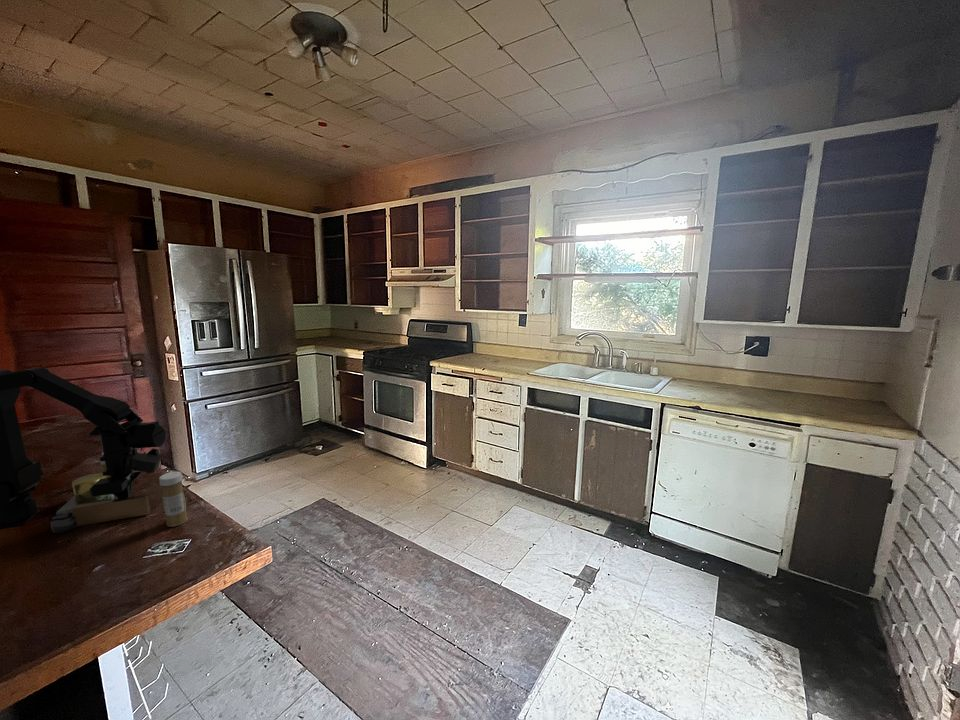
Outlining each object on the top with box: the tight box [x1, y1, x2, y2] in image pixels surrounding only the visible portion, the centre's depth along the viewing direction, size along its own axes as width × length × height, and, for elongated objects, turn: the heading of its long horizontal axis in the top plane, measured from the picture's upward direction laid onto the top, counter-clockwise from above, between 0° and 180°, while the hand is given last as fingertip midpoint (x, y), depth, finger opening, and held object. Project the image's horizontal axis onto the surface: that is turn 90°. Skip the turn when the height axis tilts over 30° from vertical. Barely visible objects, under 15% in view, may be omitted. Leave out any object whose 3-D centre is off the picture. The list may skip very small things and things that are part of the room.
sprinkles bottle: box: [158, 471, 189, 528], centre depth 102 cm, size 5×5×14 cm
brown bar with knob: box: [49, 494, 151, 534], centre depth 103 cm, size 20×5×5 cm, turn 112°
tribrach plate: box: [55, 472, 133, 515], centre depth 112 cm, size 12×12×6 cm
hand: (126, 502), depth 108 cm, fingers closed
